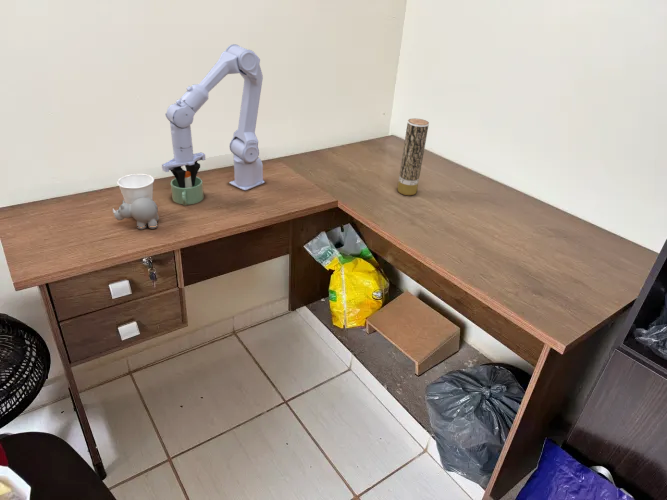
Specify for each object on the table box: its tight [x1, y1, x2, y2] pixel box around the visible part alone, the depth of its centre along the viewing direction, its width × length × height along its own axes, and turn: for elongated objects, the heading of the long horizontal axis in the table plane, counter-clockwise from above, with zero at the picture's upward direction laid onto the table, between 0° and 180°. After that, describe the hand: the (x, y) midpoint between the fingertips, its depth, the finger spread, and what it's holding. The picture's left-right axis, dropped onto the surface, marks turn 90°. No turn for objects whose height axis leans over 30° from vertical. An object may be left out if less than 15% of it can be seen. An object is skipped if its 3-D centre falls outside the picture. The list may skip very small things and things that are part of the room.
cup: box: [116, 173, 155, 205], centre depth 140 cm, size 10×10×11 cm
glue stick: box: [185, 170, 192, 188], centre depth 151 cm, size 3×3×8 cm
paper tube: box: [397, 118, 430, 196], centre depth 161 cm, size 7×7×25 cm
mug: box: [170, 176, 205, 206], centre depth 151 cm, size 12×10×6 cm
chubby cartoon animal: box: [112, 197, 160, 230], centre depth 135 cm, size 7×12×8 cm, turn 99°
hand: (187, 186), depth 152 cm, fingers closed on glue stick, 3 cm apart
